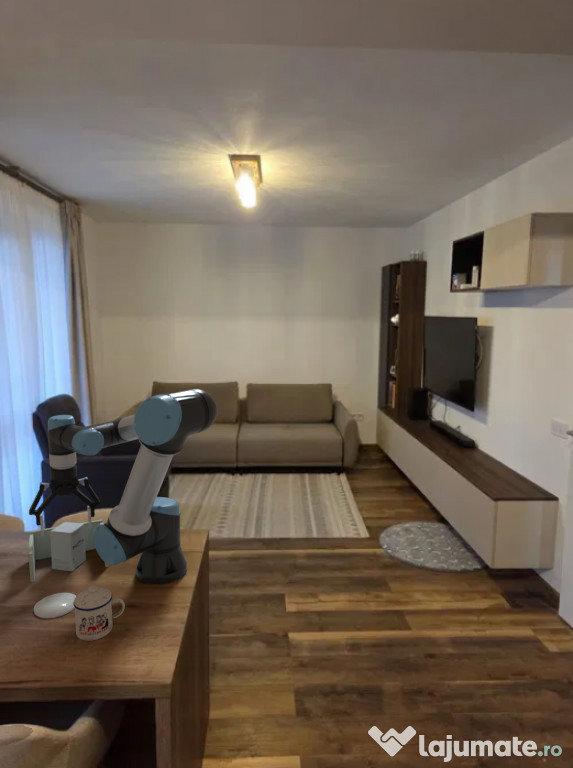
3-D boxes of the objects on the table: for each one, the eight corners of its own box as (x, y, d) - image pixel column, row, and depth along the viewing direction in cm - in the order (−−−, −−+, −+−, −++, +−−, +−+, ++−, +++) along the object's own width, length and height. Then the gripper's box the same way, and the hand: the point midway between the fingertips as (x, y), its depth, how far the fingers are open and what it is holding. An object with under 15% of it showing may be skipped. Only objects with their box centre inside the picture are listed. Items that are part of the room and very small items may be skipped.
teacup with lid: (75, 646, 120) (72, 601, 118) (75, 624, 128) (72, 582, 127) (127, 633, 125) (125, 590, 123) (123, 613, 133) (122, 572, 131)
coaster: (86, 596, 140) (86, 594, 140) (62, 620, 130) (62, 618, 130) (50, 592, 142) (50, 590, 142) (24, 616, 131) (24, 613, 131)
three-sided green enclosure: (31, 559, 161) (29, 531, 160) (103, 545, 171) (102, 519, 169) (30, 582, 148) (28, 552, 146) (109, 566, 157) (107, 537, 156)
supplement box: (72, 571, 154) (70, 533, 152) (51, 569, 155) (48, 530, 153) (86, 560, 161) (84, 523, 159) (66, 557, 162) (64, 521, 160)
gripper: (105, 457, 162) (107, 519, 165) (17, 466, 151) (22, 532, 154) (107, 464, 155) (110, 528, 159) (16, 474, 144) (21, 543, 148)
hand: (66, 530), depth 156 cm, fingers open, 13 cm apart
